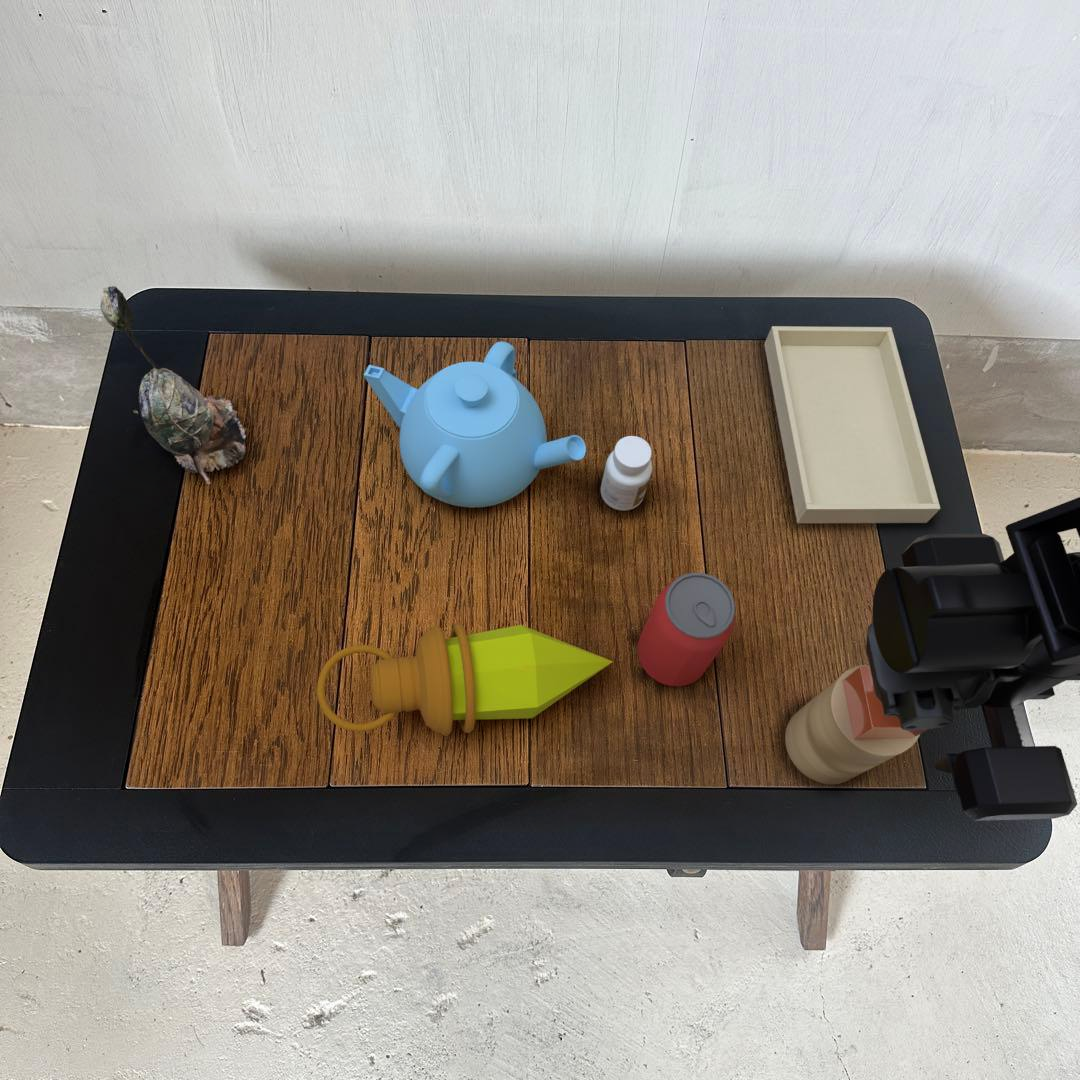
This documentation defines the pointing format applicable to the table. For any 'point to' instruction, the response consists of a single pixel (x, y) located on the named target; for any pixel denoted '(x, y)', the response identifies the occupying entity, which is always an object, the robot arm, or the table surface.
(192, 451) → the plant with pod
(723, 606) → the beer can
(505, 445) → the teapot
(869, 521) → the beige tray
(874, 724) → the clay block
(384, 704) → the plumb bob
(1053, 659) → the robot arm
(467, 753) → the table surface
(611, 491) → the pill bottle
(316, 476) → the table surface
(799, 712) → the pedestal
